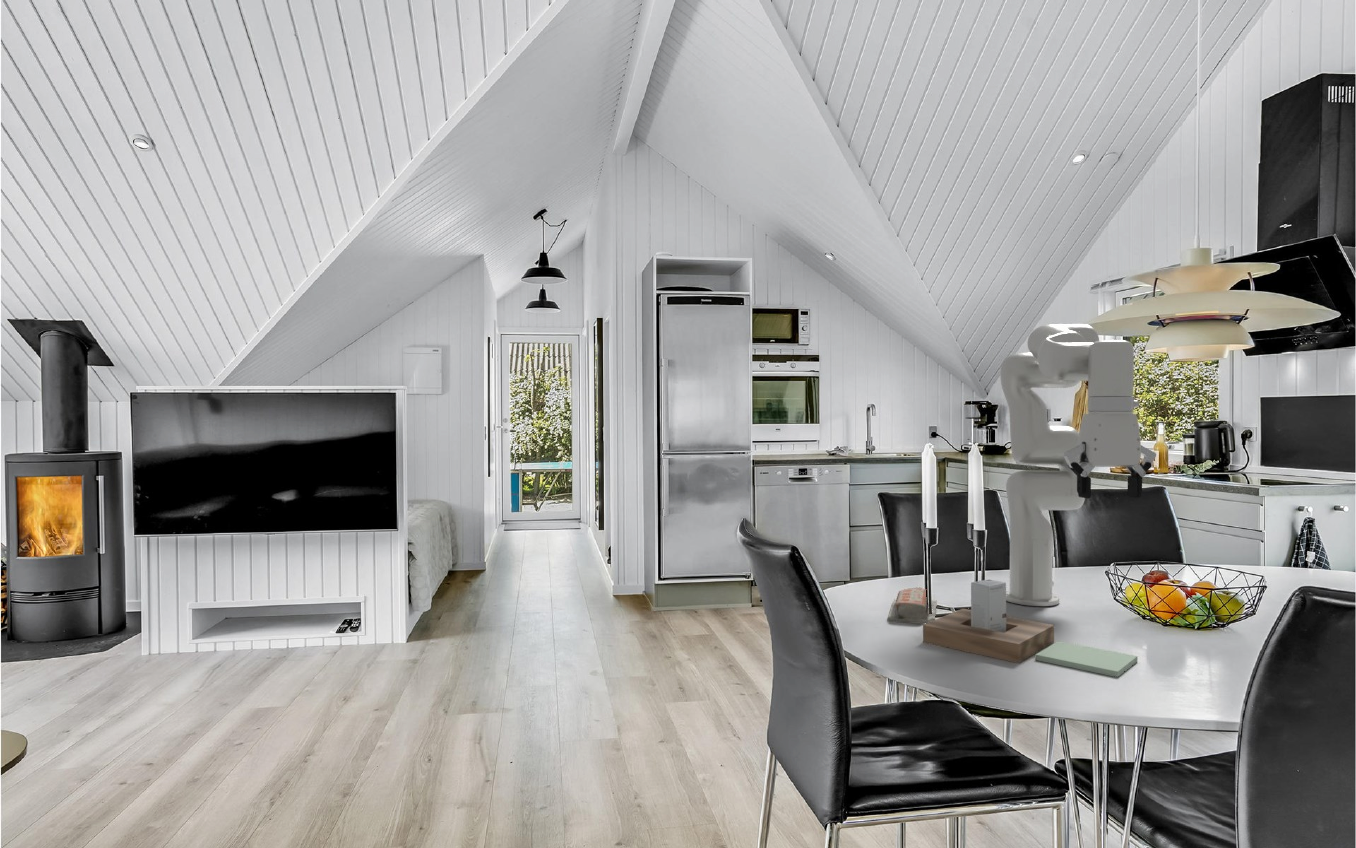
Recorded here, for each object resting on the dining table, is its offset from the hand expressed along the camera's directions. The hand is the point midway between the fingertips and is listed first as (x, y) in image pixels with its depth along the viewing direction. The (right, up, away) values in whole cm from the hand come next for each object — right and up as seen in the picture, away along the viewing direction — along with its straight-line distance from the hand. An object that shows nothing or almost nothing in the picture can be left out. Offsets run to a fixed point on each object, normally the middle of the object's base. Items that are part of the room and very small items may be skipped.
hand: (1109, 497), depth 153 cm
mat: (-6, -30, -2) cm, 31 cm away
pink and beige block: (-27, -30, +33) cm, 52 cm away
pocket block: (-19, -30, +10) cm, 37 cm away
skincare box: (-19, -30, +10) cm, 37 cm away
